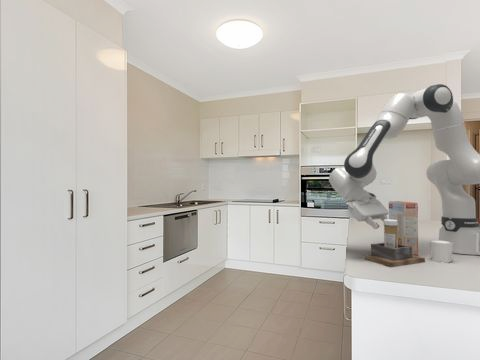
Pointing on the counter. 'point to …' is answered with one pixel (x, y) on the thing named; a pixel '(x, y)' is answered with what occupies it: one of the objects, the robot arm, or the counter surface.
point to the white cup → (441, 250)
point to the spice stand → (393, 255)
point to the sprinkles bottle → (390, 233)
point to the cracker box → (406, 223)
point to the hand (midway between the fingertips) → (383, 226)
